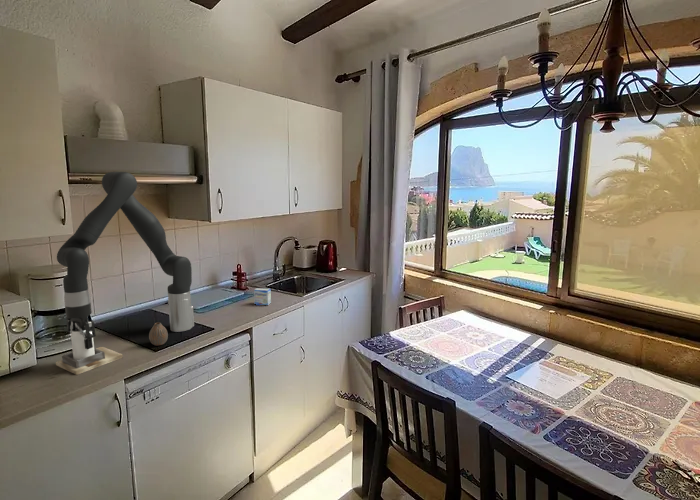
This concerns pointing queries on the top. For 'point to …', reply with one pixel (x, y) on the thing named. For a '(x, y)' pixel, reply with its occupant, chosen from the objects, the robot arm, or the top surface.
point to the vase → (158, 334)
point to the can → (80, 345)
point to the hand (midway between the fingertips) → (82, 345)
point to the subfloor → (88, 360)
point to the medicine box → (262, 296)
